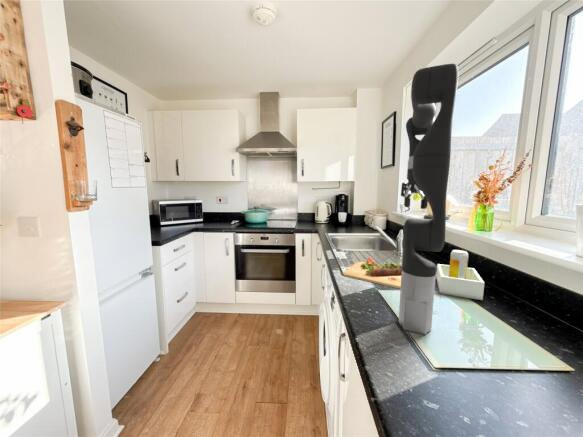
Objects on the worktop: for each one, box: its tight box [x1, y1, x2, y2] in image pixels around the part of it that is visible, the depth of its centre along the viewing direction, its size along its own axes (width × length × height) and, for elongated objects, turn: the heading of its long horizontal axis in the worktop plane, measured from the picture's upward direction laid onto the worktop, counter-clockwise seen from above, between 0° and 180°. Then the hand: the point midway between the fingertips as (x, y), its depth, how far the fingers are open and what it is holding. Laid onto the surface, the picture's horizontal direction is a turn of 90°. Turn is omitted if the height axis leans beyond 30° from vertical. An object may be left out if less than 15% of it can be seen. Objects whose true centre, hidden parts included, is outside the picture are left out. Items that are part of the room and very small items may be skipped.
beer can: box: [449, 249, 469, 279], centre depth 103 cm, size 6×6×15 cm
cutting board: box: [342, 257, 402, 290], centre depth 117 cm, size 35×23×8 cm
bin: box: [435, 263, 485, 301], centre depth 103 cm, size 18×14×7 cm
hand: (415, 207), depth 101 cm, fingers open, 8 cm apart
